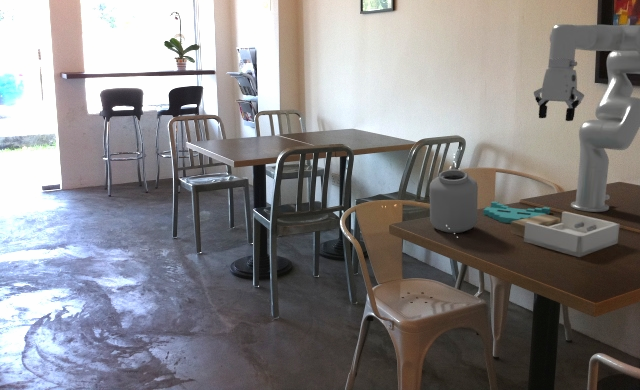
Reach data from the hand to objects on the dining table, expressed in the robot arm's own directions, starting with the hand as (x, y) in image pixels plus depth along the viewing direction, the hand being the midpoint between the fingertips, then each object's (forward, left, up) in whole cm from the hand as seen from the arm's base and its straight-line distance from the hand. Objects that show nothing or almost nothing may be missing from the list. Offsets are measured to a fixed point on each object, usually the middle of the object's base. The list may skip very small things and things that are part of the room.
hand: (555, 119), depth 203 cm
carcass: (+15, +18, -34) cm, 41 cm away
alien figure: (+3, -11, -35) cm, 37 cm away
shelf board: (+13, +4, -34) cm, 37 cm away
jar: (+33, -13, -34) cm, 49 cm away
